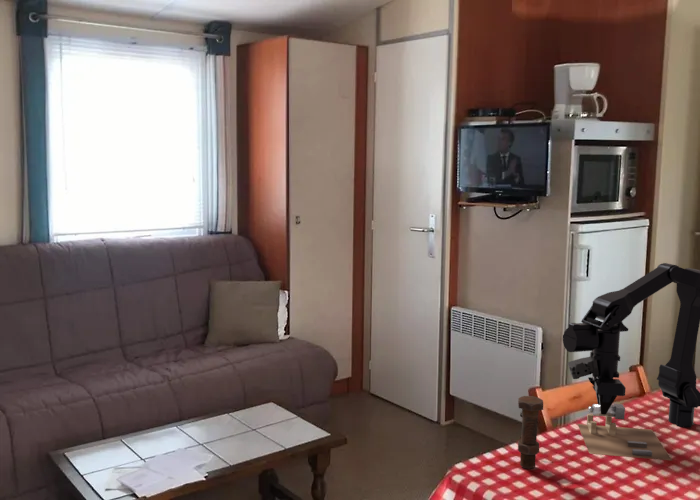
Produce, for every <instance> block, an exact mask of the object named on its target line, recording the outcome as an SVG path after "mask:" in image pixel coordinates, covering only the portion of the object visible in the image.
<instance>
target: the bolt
mask: <svg viewBox="0 0 700 500" xmlns="http://www.w3.org/2000/svg"><path fill="white" fill-rule="evenodd" d="M517 399H518V400H517V402H518V403H517V405H518V409H521V414H522V416H521V421H522V424H521V439H519V440H518V441H517V450H518V452H520V454H519V455H520V461H519V465H520V466H521V468H523V469H530V470H531V469H534V468H535V466H536V459H537V458H536V457H537V456H536V455H538V454H539V453H540V442H539V441H537V439H538V438H537V437H538V436H537V435H538V417H539V411H543V410H544V400H543V399H541V398H540V397H538V396H534V395H533V396H532V395H523V396H520V397H518V398H517Z"/></svg>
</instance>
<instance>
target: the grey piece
mask: <svg viewBox="0 0 700 500" xmlns="http://www.w3.org/2000/svg"><path fill="white" fill-rule="evenodd" d="M587 410H588V413H590V414H593V417H594V416H595V417H605V418H606V417H612V418H614V419H615V420H625V413H626V411H625V410H626V408H625V406H624V404H622V403H613V404H612V405H611V407H610V408H609V410H608V412H607V413H606V415H603V414H601V411H600V404H598V403H593V404H592V406H588V409H587Z"/></svg>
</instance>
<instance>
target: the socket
mask: <svg viewBox="0 0 700 500" xmlns="http://www.w3.org/2000/svg"><path fill="white" fill-rule="evenodd" d="M627 445H628V447H638V448H647V443H646V442H636V441H628V444H627ZM632 454H633V455H640V456H652V451H651V450H640V449H632Z"/></svg>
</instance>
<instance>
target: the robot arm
mask: <svg viewBox="0 0 700 500" xmlns="http://www.w3.org/2000/svg"><path fill="white" fill-rule="evenodd" d="M672 283H675V284H676V294H677V297H678V300H679V302H680V303H679V304H680V305H679V311H678V314H677V315H678V316H677V322H676V327H675V332H674V333H675V334H674V339H673V344H672V350H671V353H670V354H671V355H670V359H669V360H668V361H667V362H666V364H660V365H659V367H658V368H659V369H658V376H657V377H656V380H657V381H658V387H659V388H660V390H661V393H662V397H664V398H667V399H669V406H668V408H669V409H668V417H667V418H668V420H667V421H668V423H670V424H672V425H675V426H677V427H679V428H687V429H691V428H692V426H693V425H695V423H694V418H695V409H697V408H698V407H700V391H699V390H698V388H697V374H696V371H695V368H694V366H693V361H694V356H695V351H696V344H697V340H698V334H699V329H700V269H696V268H690V267H686V268H684V267H680V266H679V265H677V264H674V263H673V264H672V263H667V262H663V263H661V264H658V265H657V267H656V268H654V269H653V270H650V272H647V273H646V274H644V275H643V276H641V277H640V278H638V279H636V280H635V281H633V282H632V283H630V284H628V285H627V286H625V287H623V288H622V289H621V288H620V289H619V290H616V291H615V290H614V291H610V292H606V293H604V294H601V295H599V296H597V297H595V298H594V300H593V301H592V305H591V307H590V308H589V309H588V311H587V312H586V313H585V314H584V316H583V318H581V321H580V322H577V323H576V322H569V323H568V327H567V328H566V329H565V331H564V332H563V334H562V343H563V346H564V348H565V351H567V352H568V353H577V352H581V353H582V352H590V353H589V356H586V357H581V358H578V359H574V360H571V361H568V362H567V366H568V369H569V373H570V375H571V377H572V379H573V380H579V379H580V378H583V377H585V376H586V377H587V376H589V375H590V377H587V379H588V381H589V382H590V384H592V388H593V391H594V392H595V395H596V396H595V397H596V401H597V404H600V411H601V414H603V415H606V413H607V412H608V410H609V408H610V407H611V405H613V404H614V401H615V400H616V399H617V397H624V396H626V386H625V385H624V384H623V382H622V381H621V380H620V379H619V378H620V373H619V371H618V367H619V366H618V365H619V362H620V361H621V355H619V353H620V352H619V350H620V337H621V336H620V335H621V333H622V332H628V331H629V328H628V327H627V326H626V325H625V324H624V322H623V321H625V319H627V317H629V316H630V315H631V314H632V311H633V310H634V308H635V307H636V306H637V305H638V304H640V303H641V302H643V301H645V300H647V299H648V298H650V296H653V295H654V294H656V293H657V292H659V291H660V290H662V289H663V288H666V286H669V285H670V284H672ZM600 320H601V321H600Z"/></svg>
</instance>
